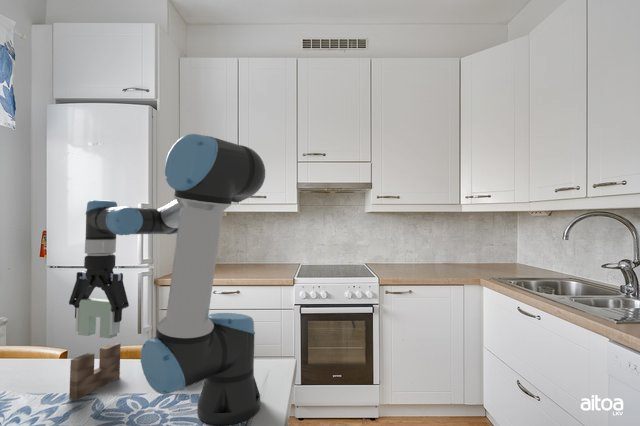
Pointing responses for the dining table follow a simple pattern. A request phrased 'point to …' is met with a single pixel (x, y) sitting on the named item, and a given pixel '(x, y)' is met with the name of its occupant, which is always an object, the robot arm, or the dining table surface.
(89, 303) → the notched mint block
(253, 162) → the robot arm
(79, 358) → the wooden u-shaped stand
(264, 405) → the dining table surface
